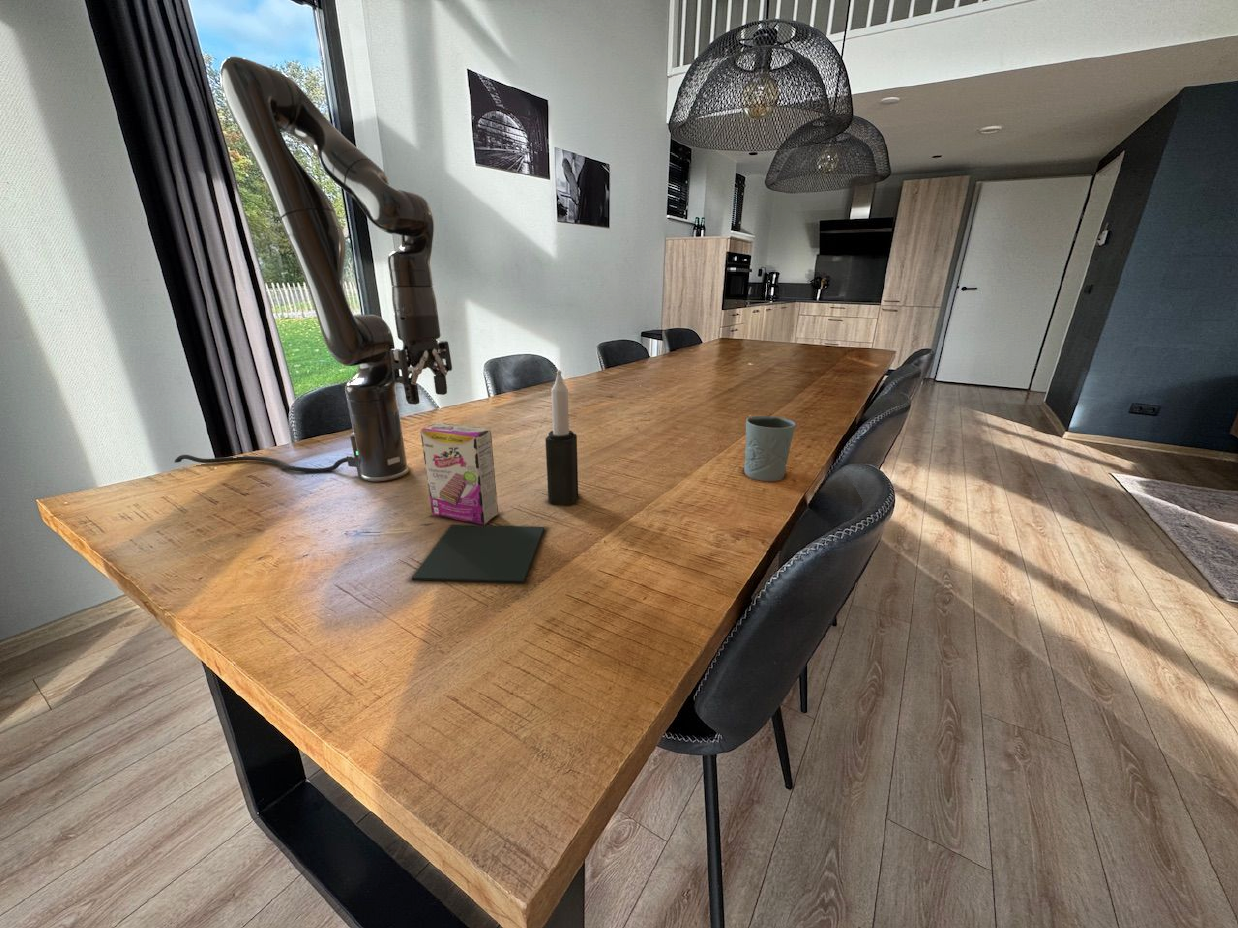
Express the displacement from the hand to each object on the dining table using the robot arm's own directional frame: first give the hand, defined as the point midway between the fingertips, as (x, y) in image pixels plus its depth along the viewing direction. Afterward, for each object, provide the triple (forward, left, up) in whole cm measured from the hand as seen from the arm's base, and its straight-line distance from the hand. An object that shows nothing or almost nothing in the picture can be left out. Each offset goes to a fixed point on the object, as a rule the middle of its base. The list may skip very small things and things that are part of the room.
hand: (428, 399), depth 96 cm
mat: (+24, -21, -18) cm, 37 cm away
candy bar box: (+14, -11, -18) cm, 25 cm away
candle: (+28, +1, -18) cm, 33 cm away
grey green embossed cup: (+65, +27, -18) cm, 72 cm away
